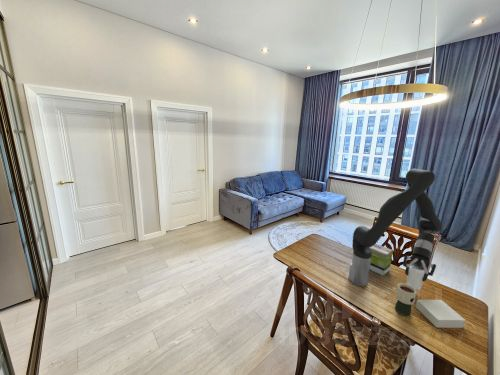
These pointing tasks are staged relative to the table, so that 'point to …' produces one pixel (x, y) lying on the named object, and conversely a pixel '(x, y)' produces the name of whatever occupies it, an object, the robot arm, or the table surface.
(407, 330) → the table surface
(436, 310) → the cream plinth
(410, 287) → the character mug
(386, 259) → the tea box
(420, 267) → the can
